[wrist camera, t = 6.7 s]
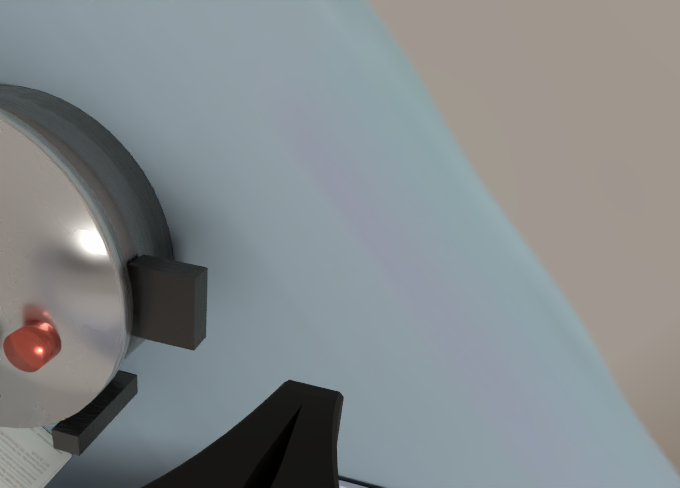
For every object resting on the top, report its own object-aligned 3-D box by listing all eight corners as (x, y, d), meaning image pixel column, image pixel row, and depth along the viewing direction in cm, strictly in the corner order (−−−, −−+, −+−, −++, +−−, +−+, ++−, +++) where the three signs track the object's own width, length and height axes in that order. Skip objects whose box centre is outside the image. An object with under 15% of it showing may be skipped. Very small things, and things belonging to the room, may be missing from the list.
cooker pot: (224, 415, 26) (180, 484, 22) (-103, 331, 29) (-193, 379, 25) (237, 122, 21) (182, 145, 17) (-166, 55, 24) (-293, 62, 20)
